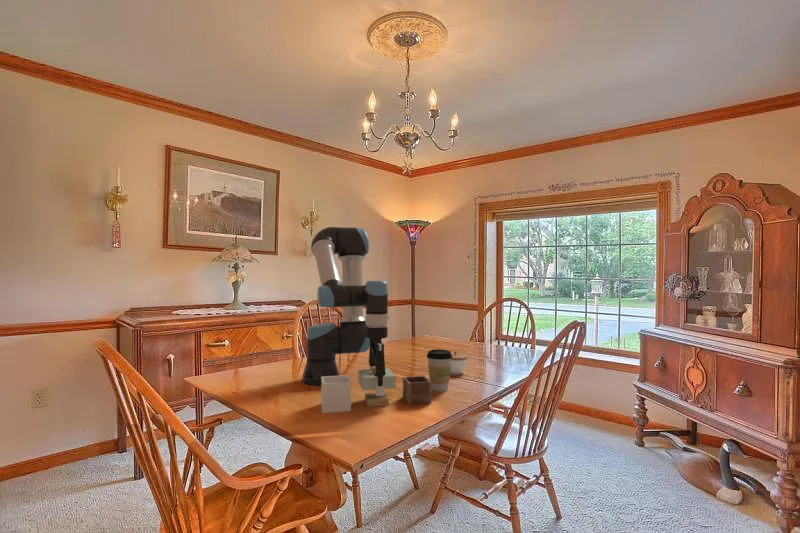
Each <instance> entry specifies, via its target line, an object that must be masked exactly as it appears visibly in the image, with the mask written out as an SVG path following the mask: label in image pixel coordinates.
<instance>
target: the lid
mask: <svg viewBox="0 0 800 533" xmlns="http://www.w3.org/2000/svg"><path fill="white" fill-rule="evenodd" d="M379 372H382V371H379ZM385 373H386V374H385V375H384V390H388V389H396V388H397V376H396V375H395V373H394V372H393V371H392V370H391V368H389V367H387V368H386V367H385ZM357 374H358V381H357V382H358V383H359V385H360V387H361V390H362V391H370V390H371V391H372V390H375V376H374V374H376V366H372V369H370V368H368V369H358V373H357Z"/></svg>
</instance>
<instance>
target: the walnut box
mask: <svg viewBox="0 0 800 533" xmlns="http://www.w3.org/2000/svg"><path fill="white" fill-rule="evenodd" d="M402 399H403V400H404V401H405V403H406V404H407V405H408V406H413V405H414V406H415V405H425V404H426V405H427V404H432V390H431V381H430V378H429V379H428V377H426V376H425V375H420V376H419V375H418V376H403V377H402Z"/></svg>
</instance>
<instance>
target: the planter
mask: <svg viewBox="0 0 800 533" xmlns="http://www.w3.org/2000/svg"><path fill="white" fill-rule="evenodd" d="M320 406H321V413H322V414H330V413H331V414H332V413H342V412H344V413H345V412H351V411H352V382H351V379H350V376H349V375H347V374H346V375H344V374H343V375H340V376H323V377H321V385H320Z"/></svg>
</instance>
